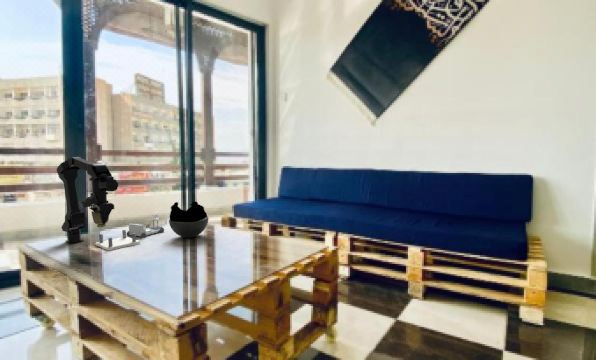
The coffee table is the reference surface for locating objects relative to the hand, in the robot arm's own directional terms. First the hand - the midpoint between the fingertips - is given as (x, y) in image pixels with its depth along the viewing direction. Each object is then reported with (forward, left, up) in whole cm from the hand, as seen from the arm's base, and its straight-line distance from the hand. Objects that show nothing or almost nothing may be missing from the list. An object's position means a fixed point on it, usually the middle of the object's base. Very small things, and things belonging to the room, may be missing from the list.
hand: (101, 222), depth 163 cm
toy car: (-10, +27, -13) cm, 32 cm away
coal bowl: (+16, +37, -12) cm, 42 cm away
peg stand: (0, +7, -12) cm, 14 cm away
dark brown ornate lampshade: (0, 0, -2) cm, 2 cm away
